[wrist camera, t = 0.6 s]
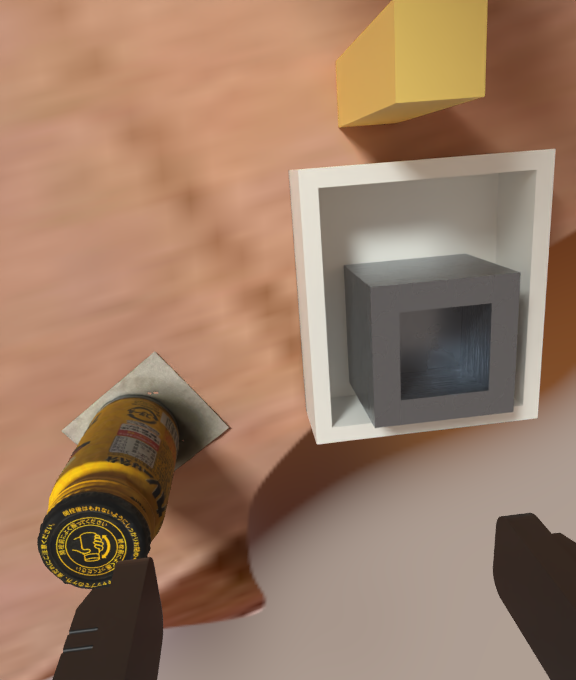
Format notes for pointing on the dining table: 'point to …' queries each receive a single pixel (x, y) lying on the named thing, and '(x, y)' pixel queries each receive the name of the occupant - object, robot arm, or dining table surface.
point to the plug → (413, 62)
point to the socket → (432, 338)
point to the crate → (408, 243)
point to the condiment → (122, 473)
